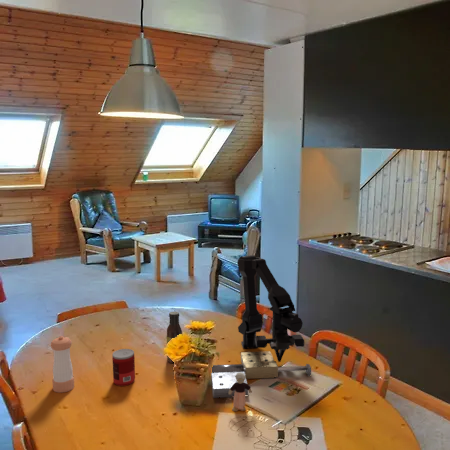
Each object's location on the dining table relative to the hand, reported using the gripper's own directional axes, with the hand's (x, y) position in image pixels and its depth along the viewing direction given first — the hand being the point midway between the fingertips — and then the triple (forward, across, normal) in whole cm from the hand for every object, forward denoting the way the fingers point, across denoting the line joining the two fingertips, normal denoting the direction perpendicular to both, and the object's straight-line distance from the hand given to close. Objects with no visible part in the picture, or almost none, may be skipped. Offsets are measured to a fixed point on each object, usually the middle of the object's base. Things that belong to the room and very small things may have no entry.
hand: (279, 361), depth 186 cm
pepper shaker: (+1, -80, -13) cm, 81 cm away
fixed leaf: (+1, -8, -15) cm, 17 cm away
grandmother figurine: (+2, -18, -31) cm, 36 cm away
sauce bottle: (+1, -41, +7) cm, 42 cm away
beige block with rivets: (+1, -9, -3) cm, 9 cm away
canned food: (+2, -59, -10) cm, 60 cm away
